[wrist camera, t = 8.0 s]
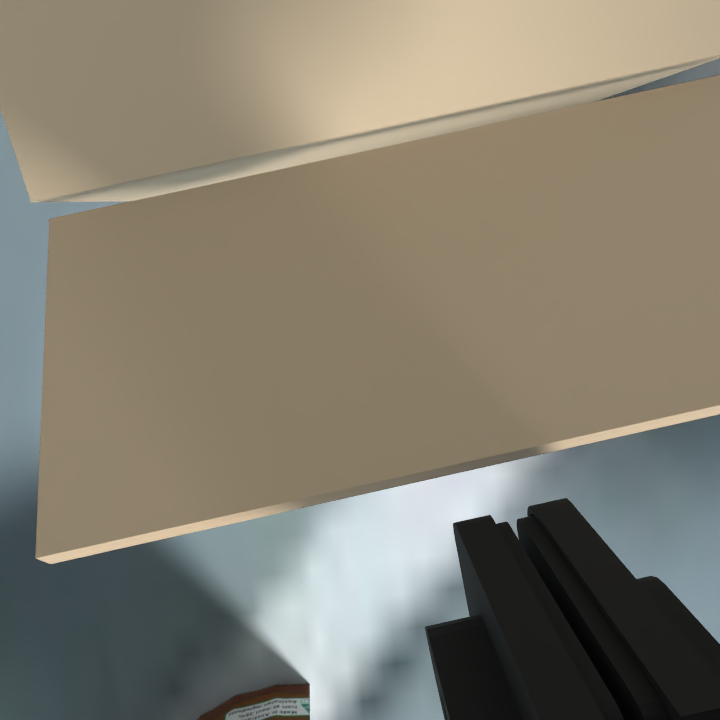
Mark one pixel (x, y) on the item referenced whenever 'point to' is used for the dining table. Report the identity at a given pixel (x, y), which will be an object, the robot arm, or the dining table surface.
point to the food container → (265, 704)
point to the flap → (380, 319)
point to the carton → (303, 79)
